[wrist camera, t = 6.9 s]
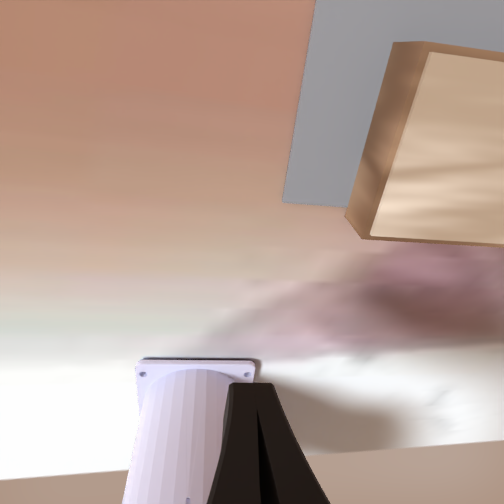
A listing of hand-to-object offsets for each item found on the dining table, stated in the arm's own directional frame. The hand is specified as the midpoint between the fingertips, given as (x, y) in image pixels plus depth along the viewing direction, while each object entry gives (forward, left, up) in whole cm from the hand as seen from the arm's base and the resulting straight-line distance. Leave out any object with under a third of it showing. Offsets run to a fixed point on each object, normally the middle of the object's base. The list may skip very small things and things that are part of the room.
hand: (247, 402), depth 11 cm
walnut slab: (+3, -10, -8) cm, 13 cm away
